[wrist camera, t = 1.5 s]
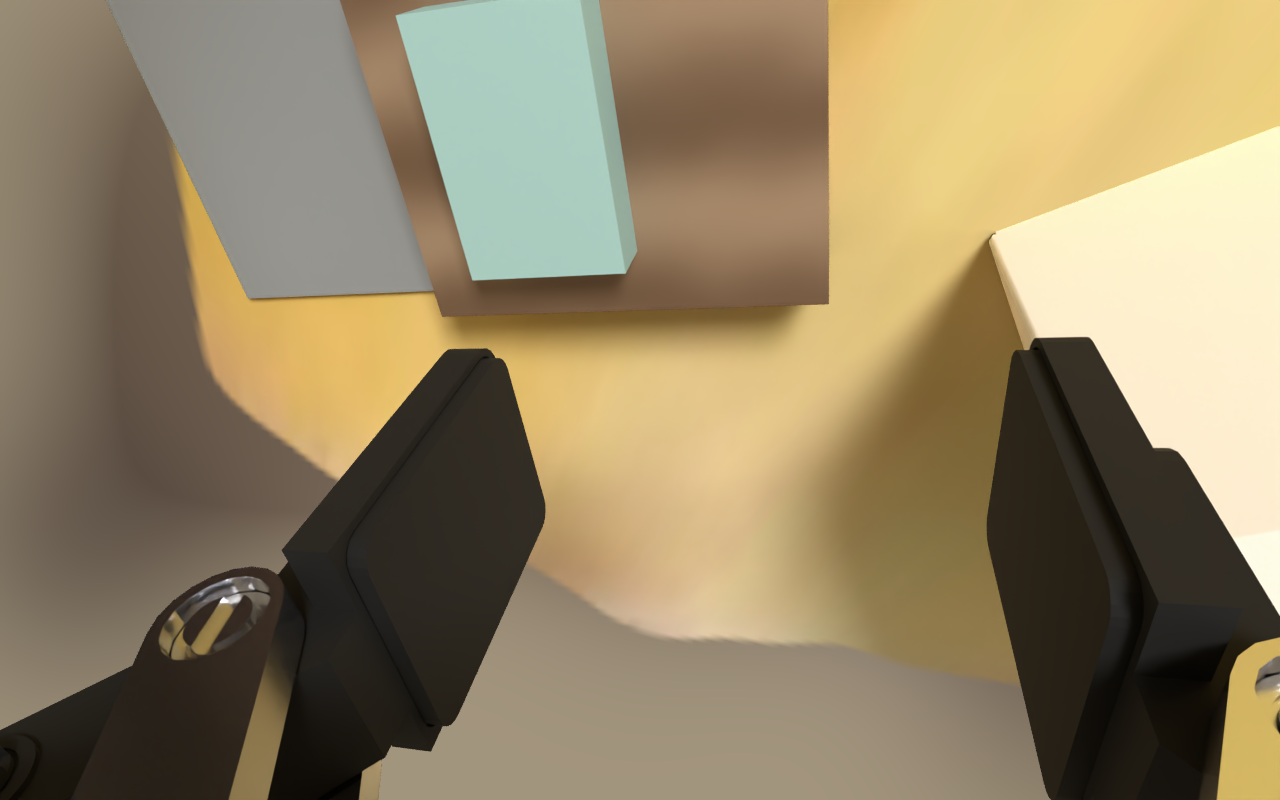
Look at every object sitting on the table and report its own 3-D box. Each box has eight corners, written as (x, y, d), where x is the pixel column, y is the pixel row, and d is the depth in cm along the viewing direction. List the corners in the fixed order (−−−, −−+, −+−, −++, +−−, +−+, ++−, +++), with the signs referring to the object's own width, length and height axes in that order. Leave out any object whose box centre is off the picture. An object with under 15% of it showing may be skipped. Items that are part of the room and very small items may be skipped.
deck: (378, -74, 27) (318, -67, 24) (827, -156, 23) (826, -162, 20) (478, 276, 35) (442, 316, 32) (828, 260, 31) (828, 304, 28)
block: (424, 6, 25) (395, 15, 23) (595, -20, 23) (578, -12, 21) (492, 258, 30) (472, 280, 28) (637, 251, 28) (625, 273, 26)
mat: (94, -37, 30) (88, -36, 30) (349, -85, 27) (345, -85, 27) (251, 296, 38) (248, 298, 38) (461, 286, 35) (459, 289, 35)
